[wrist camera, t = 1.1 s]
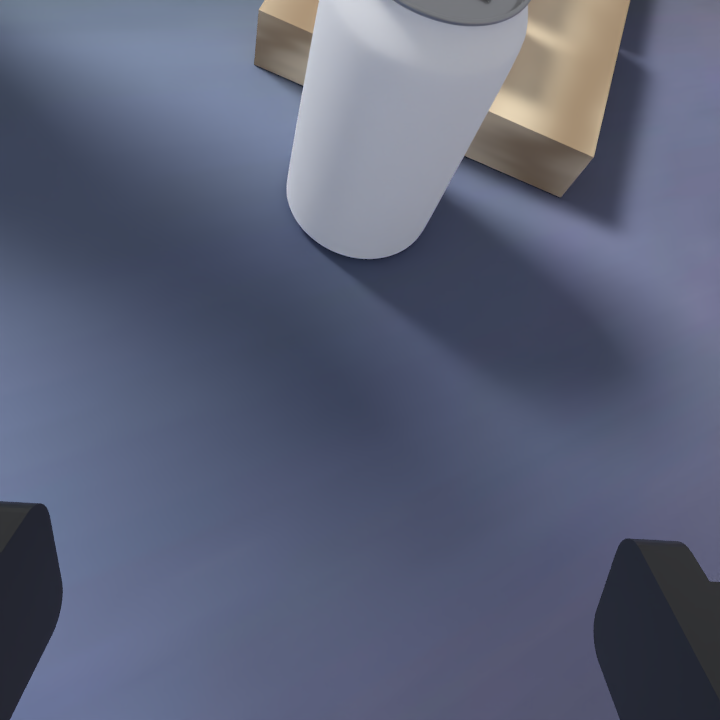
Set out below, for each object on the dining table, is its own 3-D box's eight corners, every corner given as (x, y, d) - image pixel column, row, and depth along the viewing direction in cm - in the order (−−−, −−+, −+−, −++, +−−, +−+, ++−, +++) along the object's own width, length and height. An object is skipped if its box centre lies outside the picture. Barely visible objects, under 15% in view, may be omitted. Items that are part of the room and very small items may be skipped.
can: (323, 120, 31) (388, -160, 20) (446, 184, 31) (577, -59, 20) (258, 219, 28) (292, -44, 17) (393, 290, 28) (512, 72, 17)
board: (254, 64, 31) (258, 9, 28) (338, -78, 36) (349, -136, 33) (560, 197, 32) (593, 157, 29) (600, 40, 37) (631, -6, 34)
